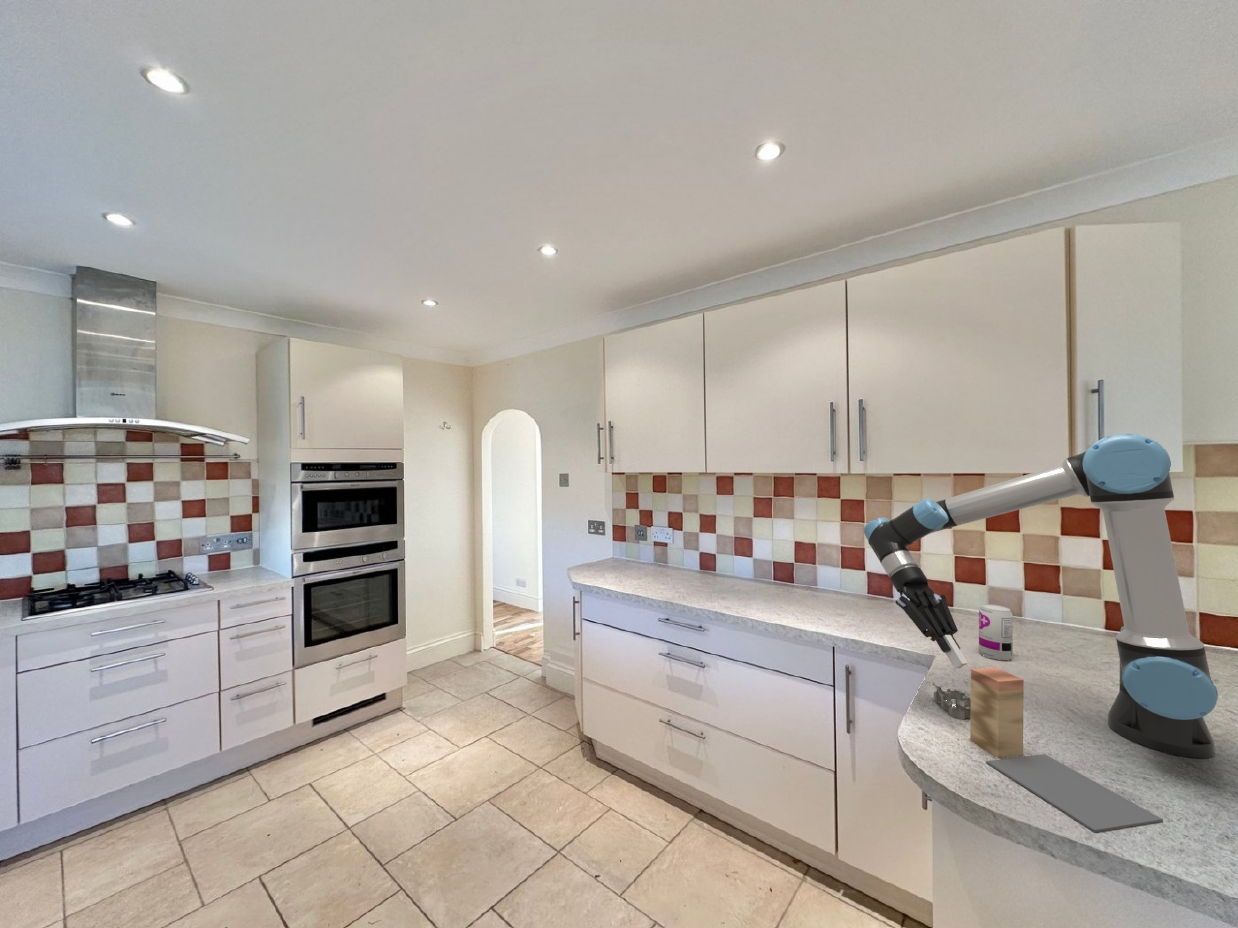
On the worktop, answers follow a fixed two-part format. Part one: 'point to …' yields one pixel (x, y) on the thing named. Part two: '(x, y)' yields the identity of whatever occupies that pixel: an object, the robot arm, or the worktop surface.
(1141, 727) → the robot arm
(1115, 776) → the worktop surface
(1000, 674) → the oak block
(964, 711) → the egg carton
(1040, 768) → the mat
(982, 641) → the supplement can
